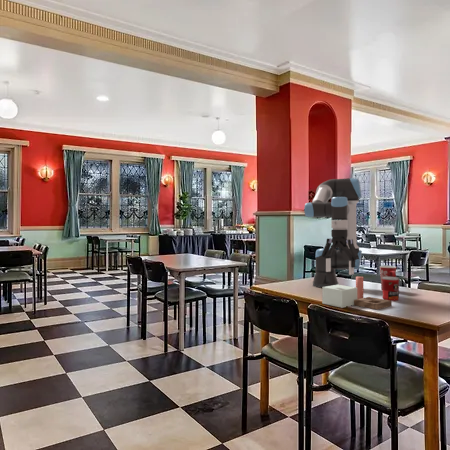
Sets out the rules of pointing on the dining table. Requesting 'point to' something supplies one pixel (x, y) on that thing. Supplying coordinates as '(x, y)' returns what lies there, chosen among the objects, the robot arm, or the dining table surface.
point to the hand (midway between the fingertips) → (339, 273)
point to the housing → (339, 295)
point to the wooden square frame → (373, 303)
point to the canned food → (390, 288)
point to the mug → (387, 272)
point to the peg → (359, 287)
